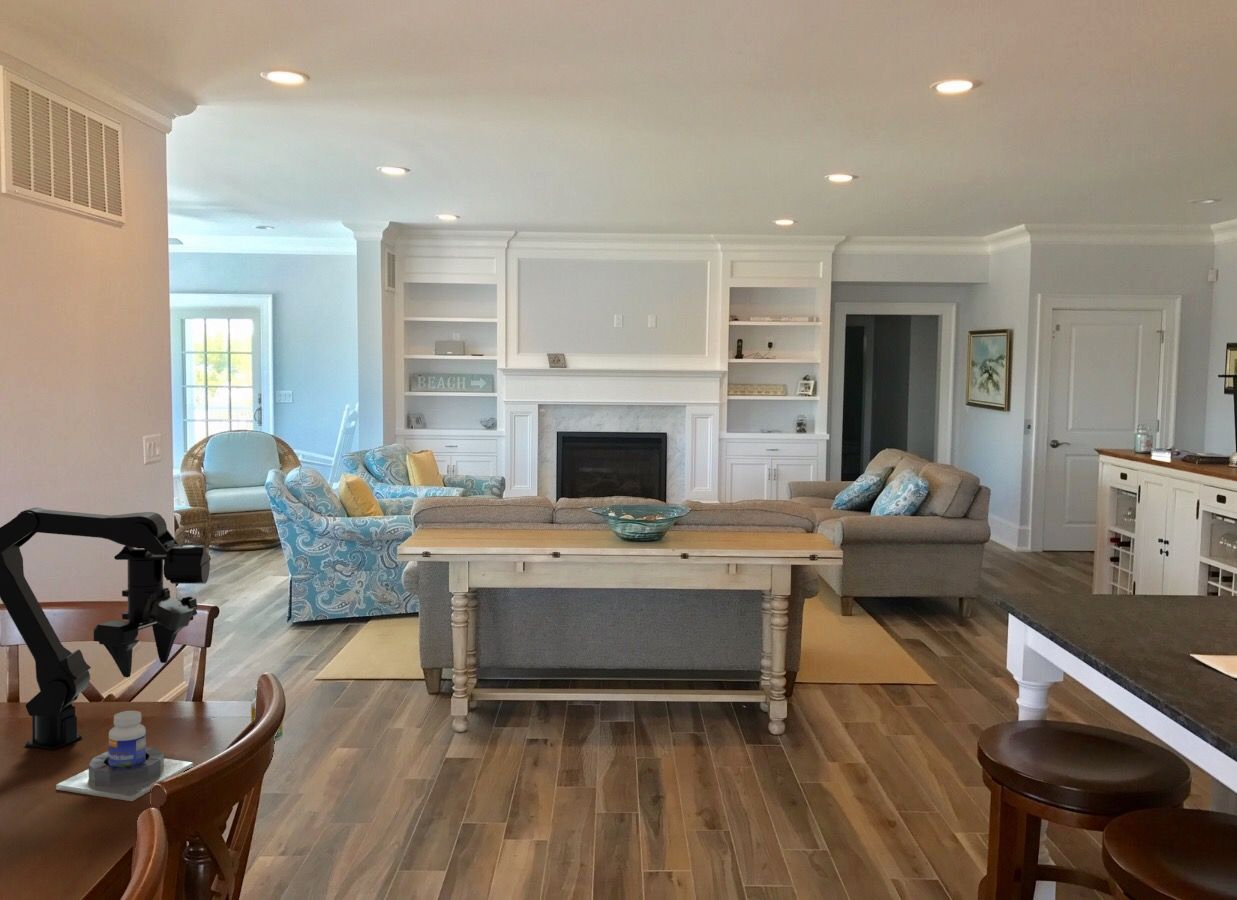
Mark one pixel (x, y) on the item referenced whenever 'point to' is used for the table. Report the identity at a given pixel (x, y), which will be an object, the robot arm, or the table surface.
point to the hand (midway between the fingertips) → (145, 669)
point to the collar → (123, 776)
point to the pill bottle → (127, 740)
